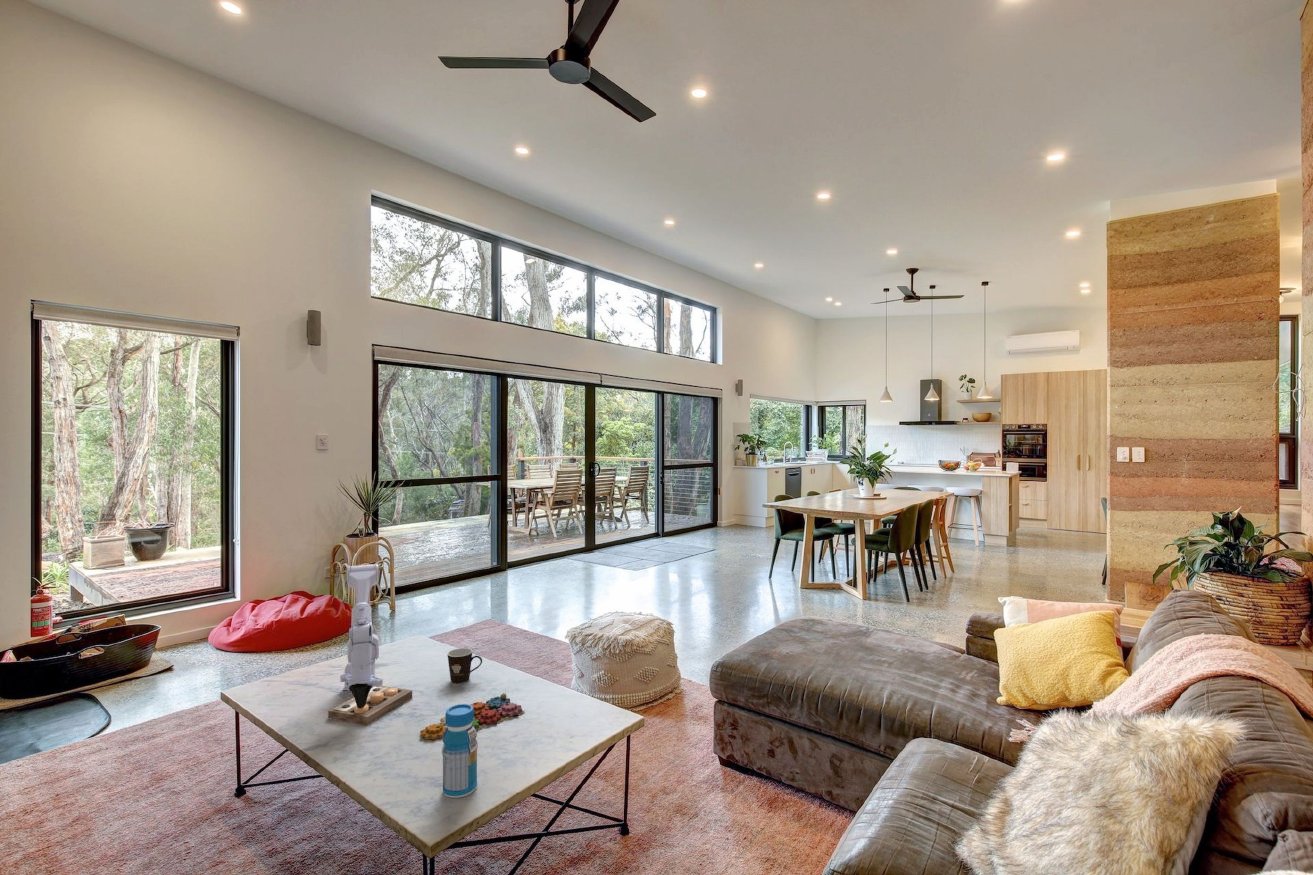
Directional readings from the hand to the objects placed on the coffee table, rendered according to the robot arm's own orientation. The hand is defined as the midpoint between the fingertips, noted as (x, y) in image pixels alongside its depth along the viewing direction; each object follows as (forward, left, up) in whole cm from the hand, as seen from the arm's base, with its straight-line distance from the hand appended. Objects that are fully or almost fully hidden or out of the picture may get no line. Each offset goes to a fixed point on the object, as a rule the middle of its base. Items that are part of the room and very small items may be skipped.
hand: (361, 706), depth 187 cm
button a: (0, 0, -2) cm, 2 cm away
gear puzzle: (+33, +8, -4) cm, 35 cm away
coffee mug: (+14, +33, -4) cm, 36 cm away
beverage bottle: (+53, -24, -4) cm, 58 cm away
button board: (-2, +6, -3) cm, 8 cm away
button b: (0, +6, -1) cm, 7 cm away
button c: (0, +13, -3) cm, 13 cm away
